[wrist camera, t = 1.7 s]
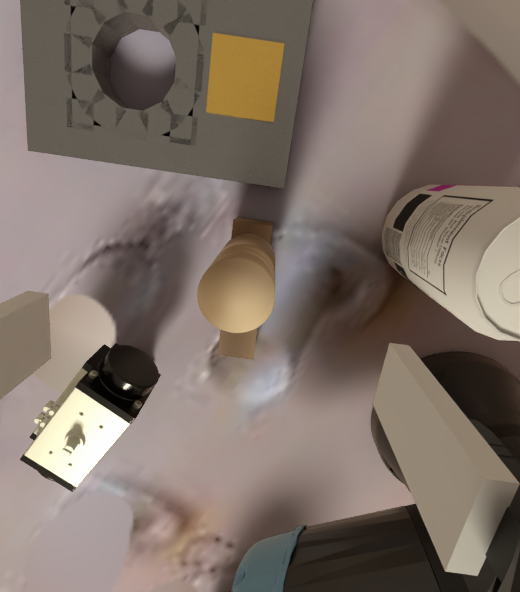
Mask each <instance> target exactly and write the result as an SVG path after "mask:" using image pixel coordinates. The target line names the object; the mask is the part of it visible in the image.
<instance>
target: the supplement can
mask: <svg viewBox="0 0 520 592" xmlns="http://www.w3.org/2000/svg"><path fill="white" fill-rule="evenodd" d="M381 234H382V250H383V252H384V254H385V256H386V258H387V261H388V263H389V264H390V265H391V266H392V267H393V268H394V269H395V270H396V271H397V272H398V273H399V274H400V275H402V276H403V277H404V278H406V279H407V280H408V281H410V282H411V283H412V284H414V285H415V286H416V287H418V288H419V289H420V290H421V291H423V292H424V293H425V294H427V295H428V296H429V297H431V298H432V299H433V300H435V301H436V302H437V303H439V304H440V305H441V306H443V307H444V308H445V309H447V310H448V311H449V312H450V313H452V314H453V315H454V316H456V317H457V318H458V319H460V320H461V321H462V322H464V323H465V324H466V325H468V326H469V327H470V328H472V329H473V330H474V331H476V332H478V333H481V334H483V335H486V336H489V337H491V338H494V339H496V340H507V341H520V187H499V186H469V185H430V184H429V185H426V186H423V187H420V188H417V189H414V190H412V191H410V192H409V193H408V194H406V195H405V196H404V197H402V198H401V199H400V200H398V201H397V202H396V204H395V205H394V206H393V208H392V209H391V211H390V212H389V214H388V215H387V217H386V220H385V223H384V227H383V230H382V233H381Z"/></svg>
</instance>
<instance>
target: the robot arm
mask: <svg viewBox="0 0 520 592" xmlns="http://www.w3.org/2000/svg"><path fill="white" fill-rule="evenodd" d="M50 346H51V345H50V322H49V299H48V294H46V293H39V292H32V291H27V292H25V293H23V294H20V295H18V296H16V297H14V298H12V299H10V300H7V301H5V302H3V303H1V304H0V399H1V398H3V397H4V396H5V395H6V394H8V393H9V392H10V391H11V390H13V389H14V388H15V387H16V386H17V385H19V384H20V383H21V382H22V381H24V380H25V379H26V378H27V377H29V376H30V375H31V374H32V373H34V372H35V371H36V370H37V369H38V368H40V367H41V366H42V365H43V364H45V363H46V362H47V361H48V360H49V359H51V347H50ZM373 406H374V407H373V410H372V416H371V430H372V435H373V439H374V442H375V444H376V447H377V449H378V452H379V454H380V457H381V459H382V461H383V462H384V464H385V465H386V467H387V468H388V469H389V471H390V472H391V473H392V474H393V475H394V476H395V477H396V478H397V479H398V480H399V481H401V482H402V483H403V484H405V486H406V487H407V488H408V490H409V491H410V492H411V494H412V496H413V498H414V501H415V503H416V504H412V505H408V506H401V507H396V508H392V509H387V510H382V511H378V512H373V513H369V514H364V515H359V516H355V517H350V518H346V519H341V520H336V521H332V522H327V523H323V524H318V525H313V526H309V527H308V526H307V525H304V526H298V527H297V528H296V529H295V530H294V531H290V532H287V533H283V534H279V535H276V536H272V537H269V538H265V539H262V540H260V541H258V542H257V543H255V544H254V545H253V546H252V547H251V548H250V549H249V550H248V551H247V552H246V554H245V555H244V557H243V559H242V561H241V563H240V565H239V567H238V569H237V572H236V575H235V579H234V582H233V587H232V591H231V592H520V380H519V379H517V378H516V377H515V376H514V375H513V374H512V373H510V372H509V371H508V370H507V369H505V368H504V367H503V366H502V365H500V364H499V363H497V362H495V361H493V360H492V359H489V358H487V357H484V356H481V355H477V354H473V353H466V352H448V353H440V354H435V355H432V356H428V357H425V358H422V359H420V358H419V357H418V356H417V355H416V353H415V352H414V351H413V350H412V348H411V347H410V346H409V345H402V344H395V343H389V346H388V350H387V354H386V357H385V361H384V365H383V368H382V372H381V376H380V379H379V383H378V386H377V390H376V394H375V397H374V401H373Z"/></svg>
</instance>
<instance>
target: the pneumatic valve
mask: <svg viewBox="0 0 520 592" xmlns="http://www.w3.org/2000/svg"><path fill="white" fill-rule="evenodd" d="M160 376H161V375H160V374H159V372H158V369H157V367H156V365H155V363H154V362H153V361H152V359H151V358H150V357H149V356H147V355H146V354H145V353H144V352H142V351H140V350H139V349H137V348H134V347H131V346H127V345H118V344H117V343H116V344H115V345H114V346H113V347H112V348H109V347H108V346H106V345H103V346H102V347H101V348H100V349H99V350H98V351H97V352H96V353H95V354H94V355H93V356H92V357H91V358H90V359H89V360H88V361H87V362H86V363H85V364H84V366H83V367H82V368H81V369H80V371H79V372H78V373H77V375H76V376H75V377H74V379H73V380H72V381H71V383H70V384H69V385H68V387H67V388H66V389H65V391H64V392H63V393H62V395H61V396H60V397H59V399H58V400H57V401H56V403H55V404H54V402H53V401H49V402H48V403H47V404H46V406H45V407H44V408H43V411H45V412H47V411H48V410H50V411H49V412H48V413H47V415H46V414H44V413H42V412H41V413H40V414H39V415H38V417H37V418H36V419H35V420H34V422H35V423H36V424H38V423H39V422H41V423H40V424H39V425H38V427H37V428H36V429H35V430H34V432H33V433H32V434H31V436H30V438H31V439H33V440H34V441H33V443H32V444H31V445H30V447H29V448H28V449H27V450H26V452H25V453H24V454H23V456H22V457H21V458H20V460H21V461H23V462H25V463H26V464H28V465H29V466H31V467H33V468H34V469H36V470H37V471H38V472H39V473H40V474H41V475H42V476H44V477H45V478H47V479H49V480H52V481H55V482H57V483H59V484H60V485H62V486H64V487H65V488H67V489H68V490H70V491H72V492H73V491H74V490H75V489H76V488H77V486H78V485H79V484H80V483H81V482H82V481H83V479H84V478H85V477H86V476H87V475H88V474H89V472H90V471H91V470H92V469H93V468H94V466H95V465H96V464H97V463H98V462H99V461H100V459H101V458H102V457H103V456H104V455H105V454H106V452H107V451H108V450H109V449H110V448H111V447H112V445H113V444H114V443H115V442H116V441H117V440H118V438H119V437H120V436H121V435H122V434H123V433H124V431H125V430H126V429H127V428H128V427H129V426H130V424H131V423H132V422H133V421H134V420H135V418H136V417H137V415H138V413H139V412H140V410H141V408H142V407H143V405H144V403H145V401H146V400H147V398H148V396H149V395H150V393H151V391H152V389H153V388H154V386H155V385H156V383H157V382H158V379H159V377H160ZM53 404H54V405H53ZM52 405H53V406H52ZM45 415H46V416H45ZM44 416H45V417H44Z"/></svg>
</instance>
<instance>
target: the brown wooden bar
mask: <svg viewBox="0 0 520 592" xmlns="http://www.w3.org/2000/svg"><path fill="white" fill-rule="evenodd" d="M272 230H273V222H268V221H261V220H255V219H248V218H241V217H237V218H236V219H235V220H234V221H233V229H232V238H234V237H235V236H237V235H240V234H244V233H252V234H256V235H259V236H261V237H263V238H264V239H265V240H267V241H268V243H269V244H271V237H272ZM232 238H231V239H232ZM257 330H258V327H257V328H256V329H254V330H251V331H248V332H243V333H231V332H227V331H224V330H221V332H220V340H219V349H218V355H225V356H232V357H239V358H245V359H252V360H253V356H254V350H255V343H256V336H257Z"/></svg>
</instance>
